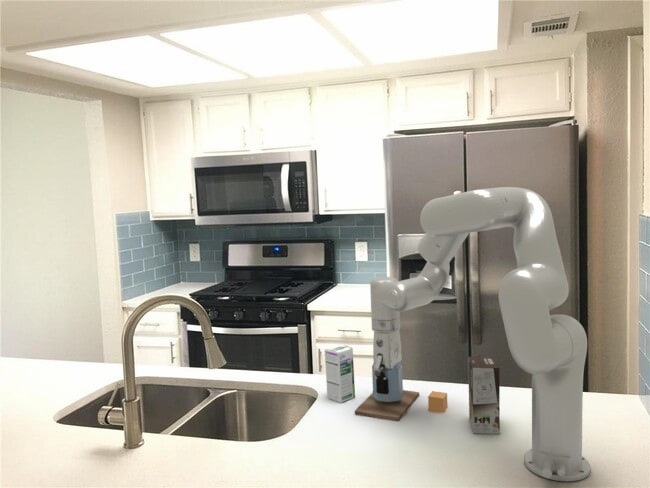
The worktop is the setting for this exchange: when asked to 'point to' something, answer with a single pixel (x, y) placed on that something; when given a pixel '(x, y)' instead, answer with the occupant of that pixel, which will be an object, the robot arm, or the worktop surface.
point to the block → (437, 402)
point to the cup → (390, 384)
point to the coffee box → (484, 394)
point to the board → (387, 407)
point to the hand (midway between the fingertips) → (387, 387)
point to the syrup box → (340, 373)
